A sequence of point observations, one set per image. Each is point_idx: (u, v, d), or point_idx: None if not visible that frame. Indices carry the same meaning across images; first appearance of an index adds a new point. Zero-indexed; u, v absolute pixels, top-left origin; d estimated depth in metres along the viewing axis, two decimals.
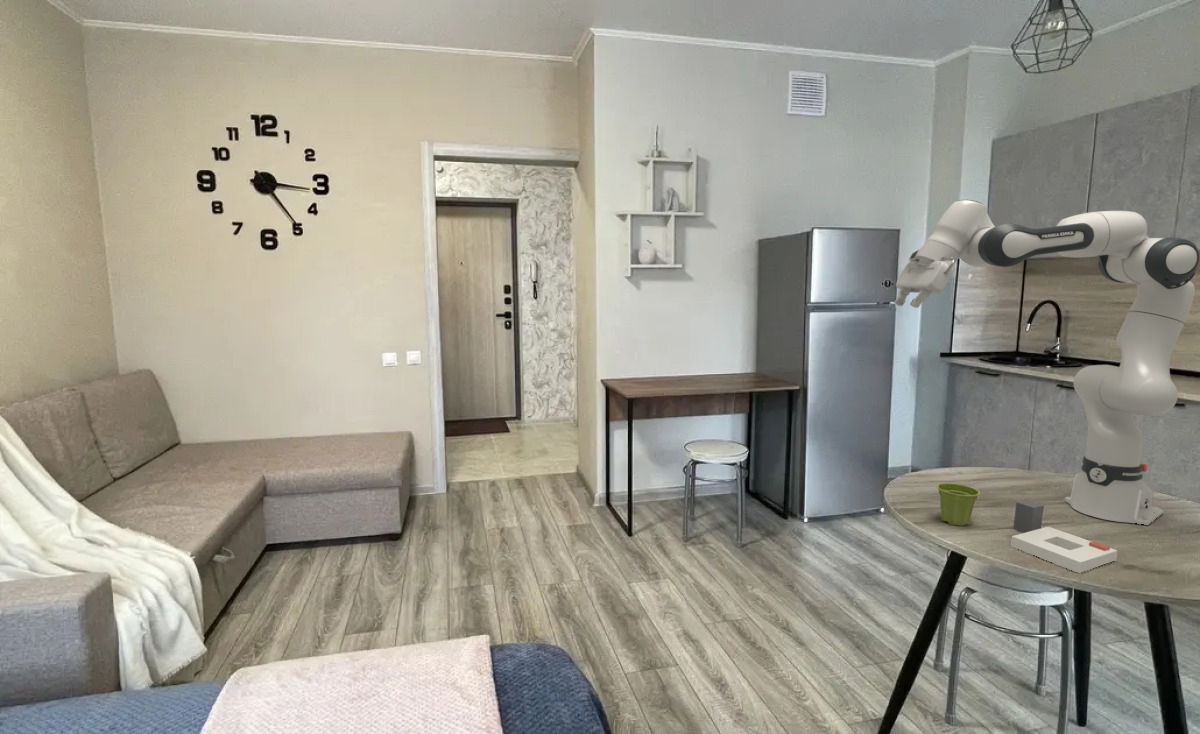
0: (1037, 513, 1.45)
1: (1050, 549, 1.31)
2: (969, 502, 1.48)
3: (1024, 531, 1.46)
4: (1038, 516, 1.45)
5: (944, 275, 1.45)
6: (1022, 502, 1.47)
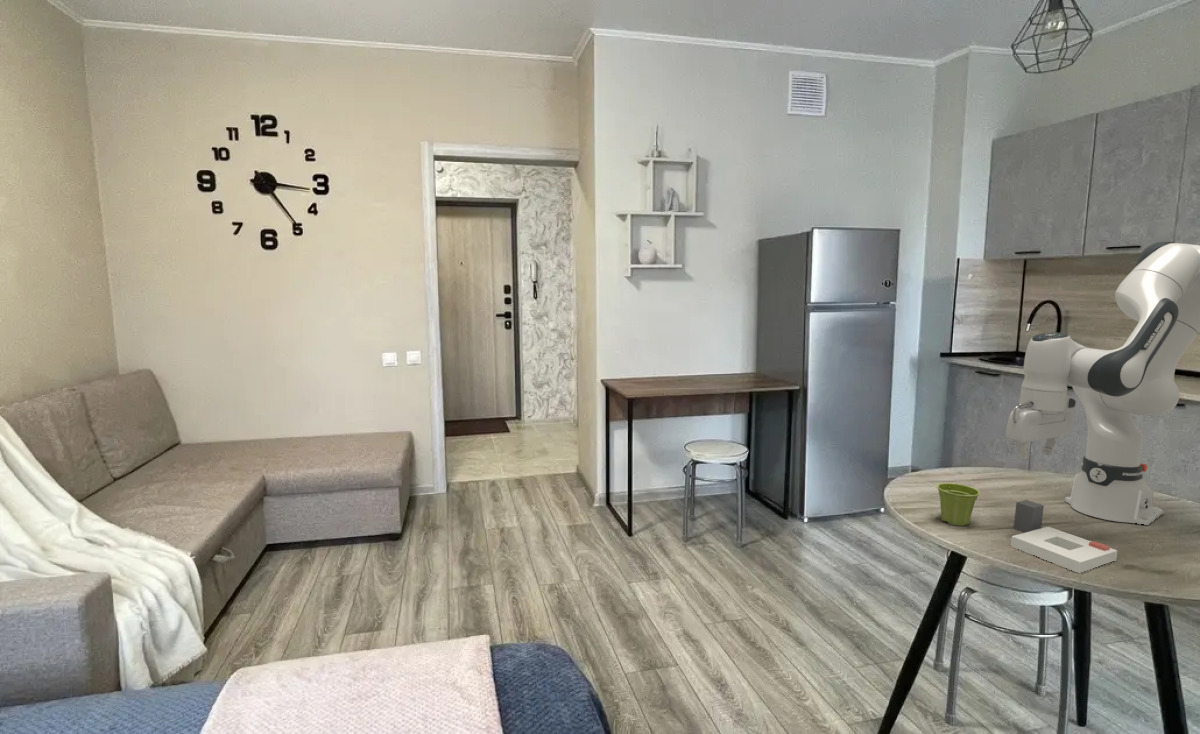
0: (1037, 513, 1.45)
1: (1050, 549, 1.31)
2: (969, 502, 1.48)
3: (1024, 531, 1.46)
4: (1038, 516, 1.45)
5: (1015, 424, 1.39)
6: (1022, 502, 1.47)
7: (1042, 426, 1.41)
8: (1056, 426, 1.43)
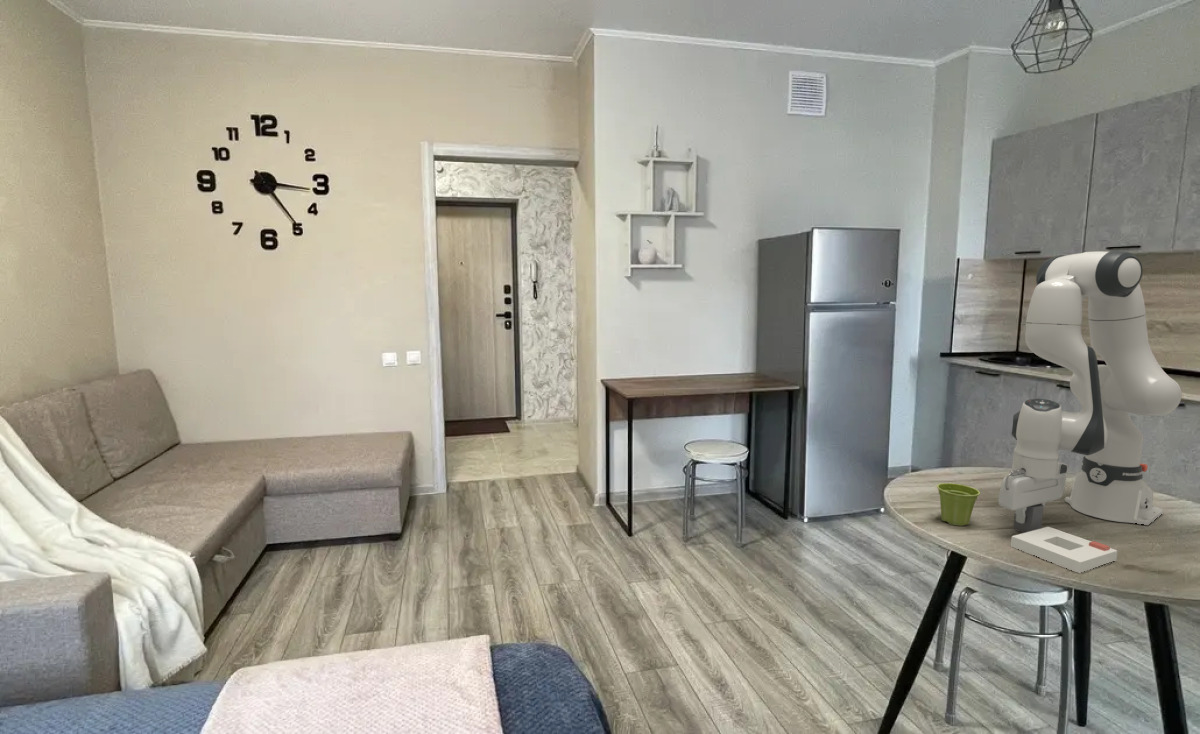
0: (1037, 513, 1.45)
1: (1050, 549, 1.31)
2: (969, 502, 1.48)
3: (1024, 531, 1.46)
4: (1039, 515, 1.45)
5: (1007, 491, 1.42)
6: None
7: (1034, 492, 1.44)
8: (1048, 491, 1.46)
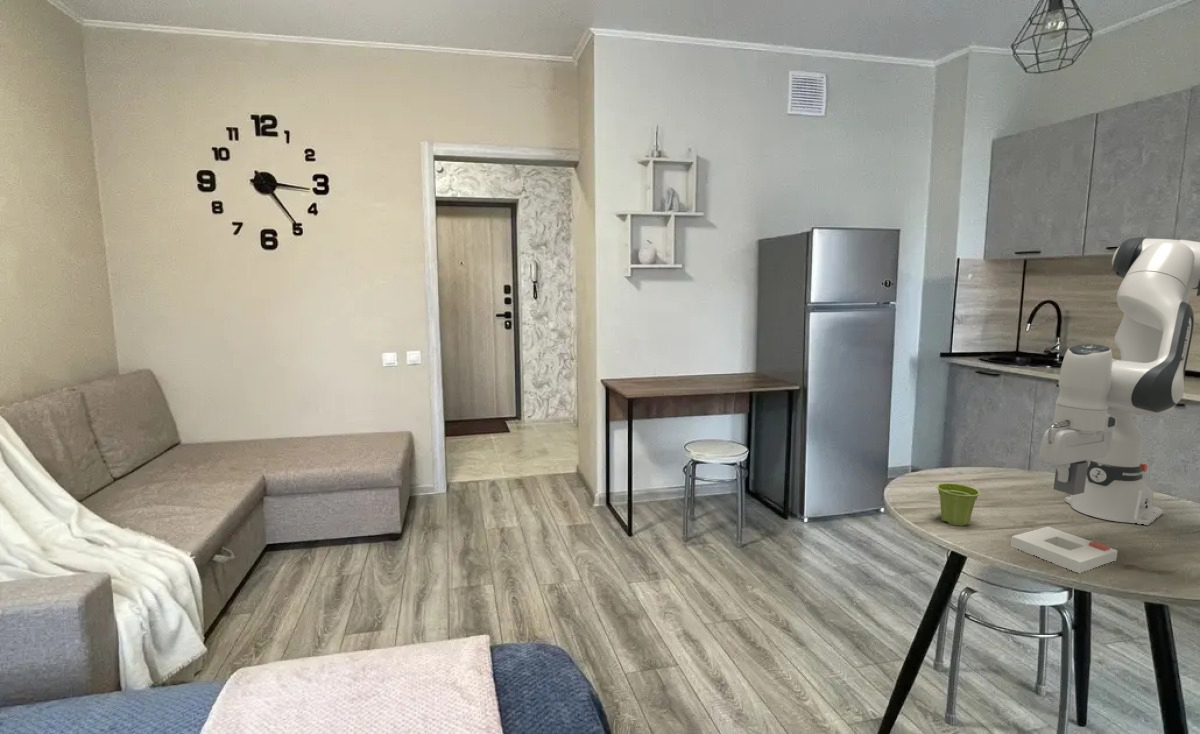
0: (1081, 470, 1.30)
1: (1050, 549, 1.31)
2: (969, 502, 1.48)
3: (1066, 491, 1.32)
4: (1082, 473, 1.31)
5: (1050, 445, 1.27)
6: None
7: (1079, 447, 1.29)
8: (1094, 446, 1.31)
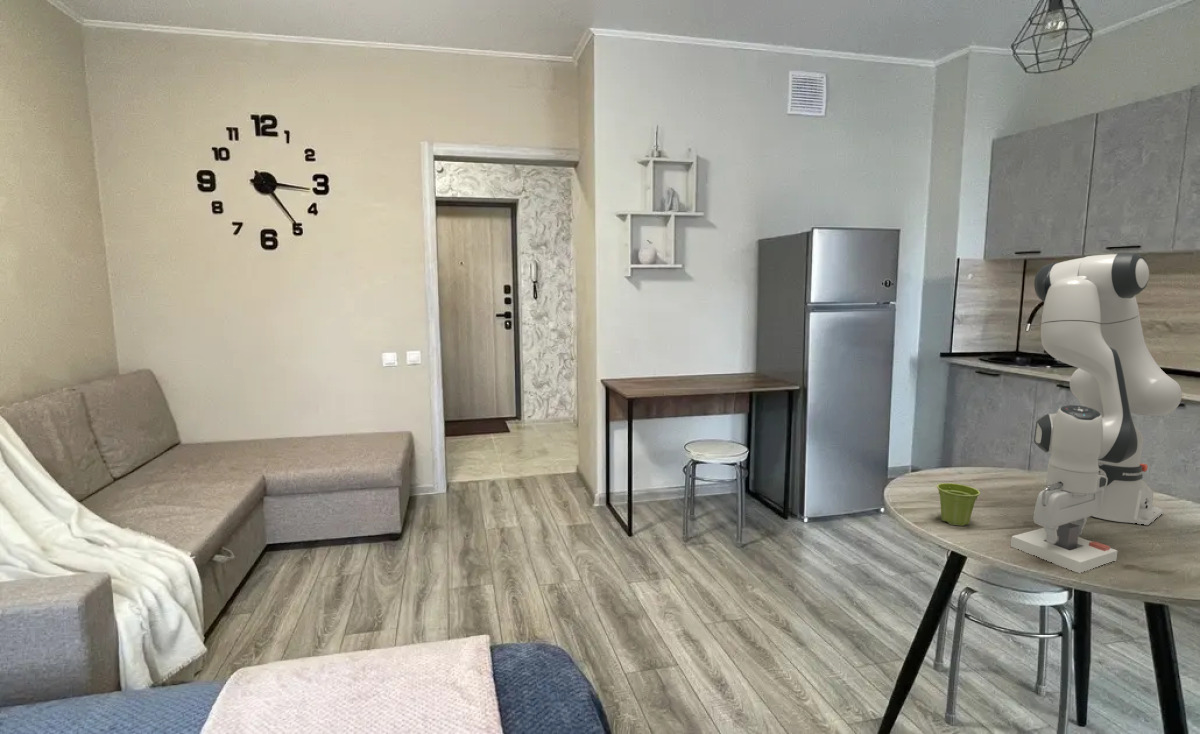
0: (1073, 534, 1.33)
1: (1050, 549, 1.31)
2: (969, 502, 1.48)
3: None
4: (1074, 537, 1.33)
5: (1044, 507, 1.29)
6: None
7: (1072, 508, 1.31)
8: (1085, 506, 1.33)
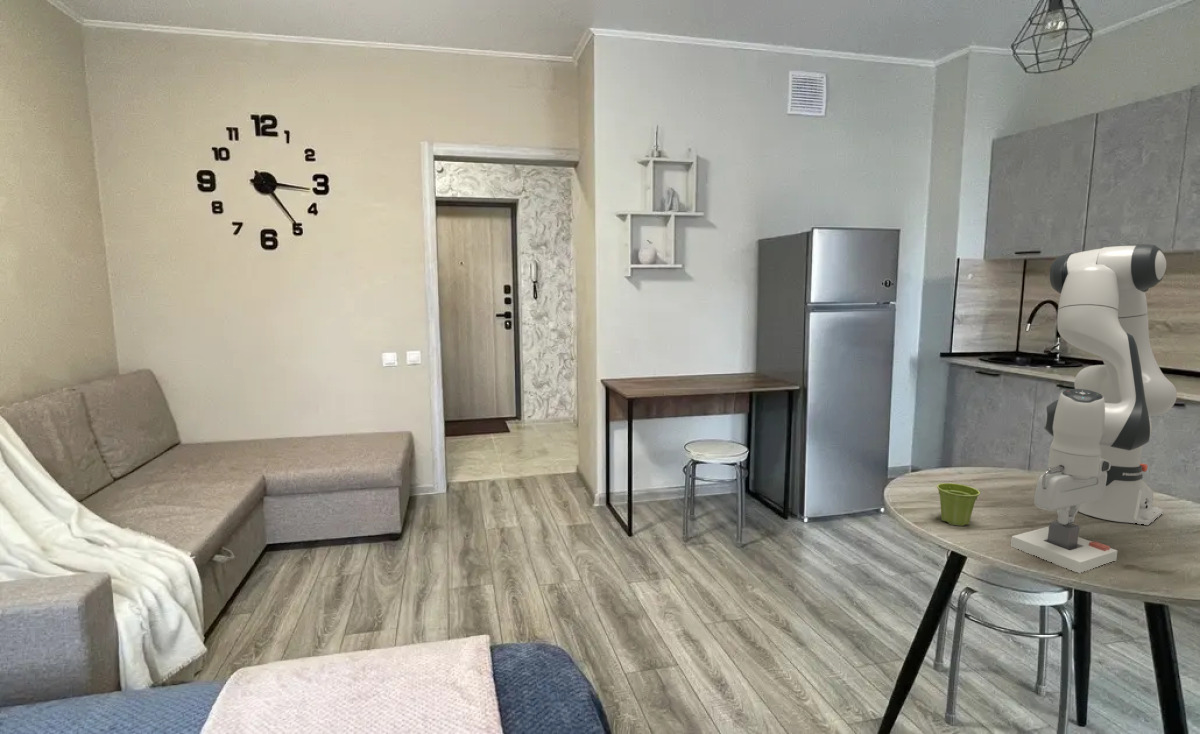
0: (1073, 534, 1.33)
1: (1050, 549, 1.31)
2: (969, 502, 1.48)
3: None
4: (1074, 537, 1.33)
5: (1044, 490, 1.29)
6: (1056, 522, 1.35)
7: (1074, 492, 1.30)
8: (1088, 490, 1.33)
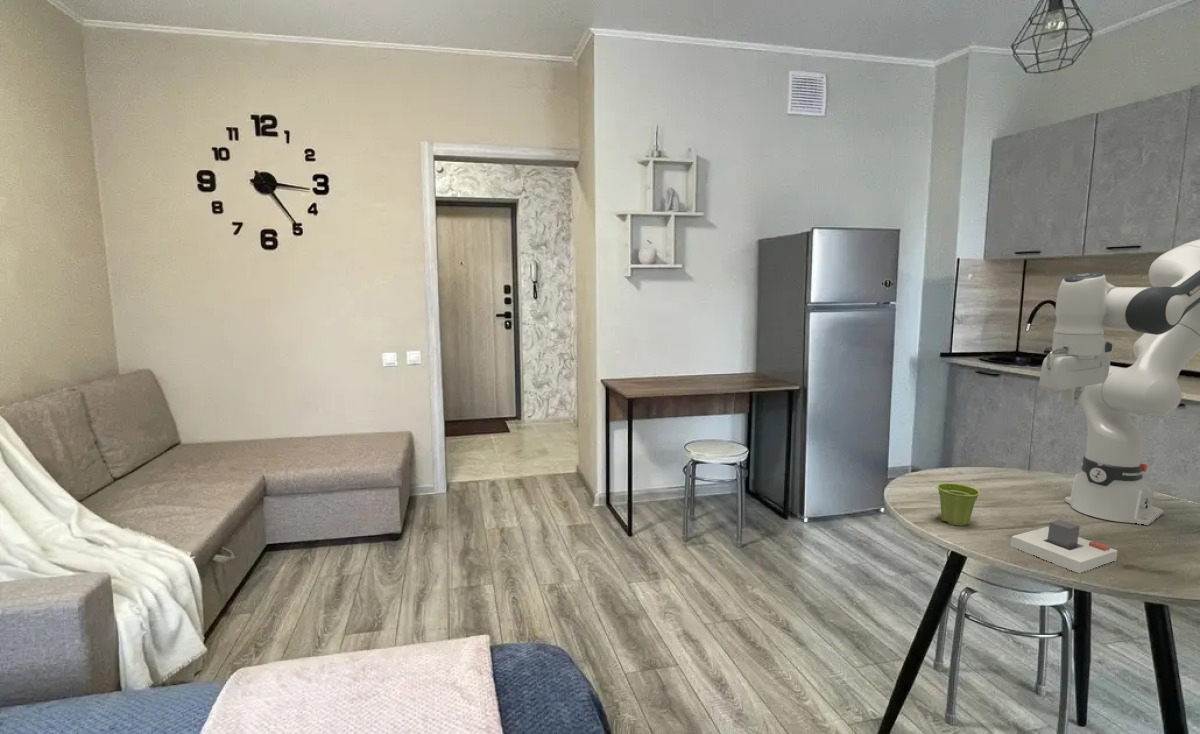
0: (1073, 534, 1.33)
1: (1050, 549, 1.31)
2: (969, 502, 1.48)
3: None
4: (1074, 537, 1.33)
5: (1049, 371, 1.31)
6: (1056, 522, 1.35)
7: (1078, 373, 1.33)
8: (1092, 372, 1.35)
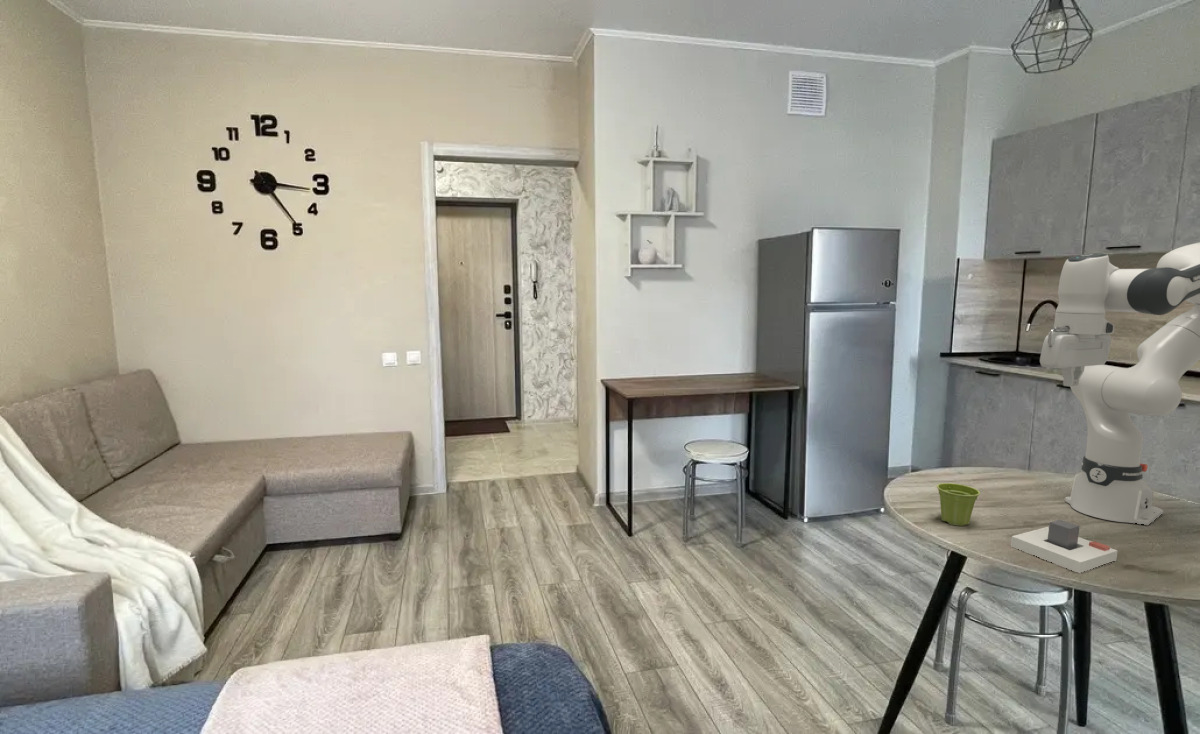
0: (1073, 534, 1.33)
1: (1050, 549, 1.31)
2: (969, 502, 1.48)
3: None
4: (1074, 537, 1.33)
5: (1050, 348, 1.32)
6: (1056, 522, 1.35)
7: (1078, 352, 1.34)
8: (1092, 352, 1.37)
